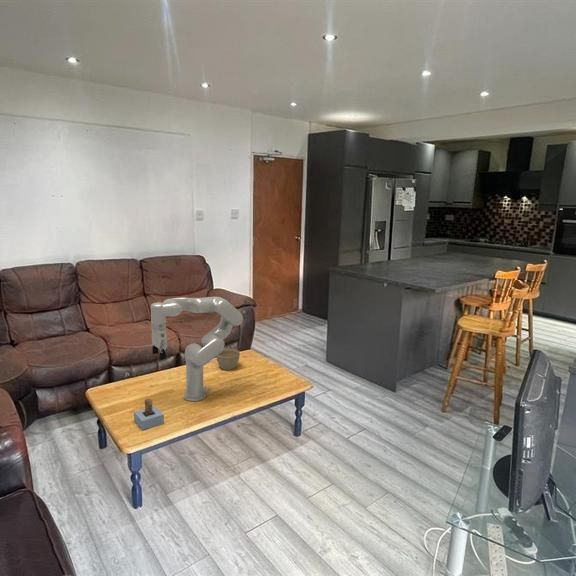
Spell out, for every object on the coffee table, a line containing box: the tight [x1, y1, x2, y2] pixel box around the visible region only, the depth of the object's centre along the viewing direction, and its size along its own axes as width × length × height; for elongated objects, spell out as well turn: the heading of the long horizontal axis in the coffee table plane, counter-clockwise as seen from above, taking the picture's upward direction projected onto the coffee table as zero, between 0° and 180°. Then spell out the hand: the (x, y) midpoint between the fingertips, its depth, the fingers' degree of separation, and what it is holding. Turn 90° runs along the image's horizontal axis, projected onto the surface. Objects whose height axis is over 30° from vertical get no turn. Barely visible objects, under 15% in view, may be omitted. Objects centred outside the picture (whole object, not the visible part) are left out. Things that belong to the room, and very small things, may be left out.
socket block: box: [133, 405, 165, 431], centre depth 209 cm, size 11×11×5 cm
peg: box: [144, 398, 153, 417], centre depth 208 cm, size 4×4×12 cm
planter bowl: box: [215, 348, 241, 371], centre depth 281 cm, size 16×16×11 cm
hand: (159, 356), depth 222 cm, fingers open, 9 cm apart
